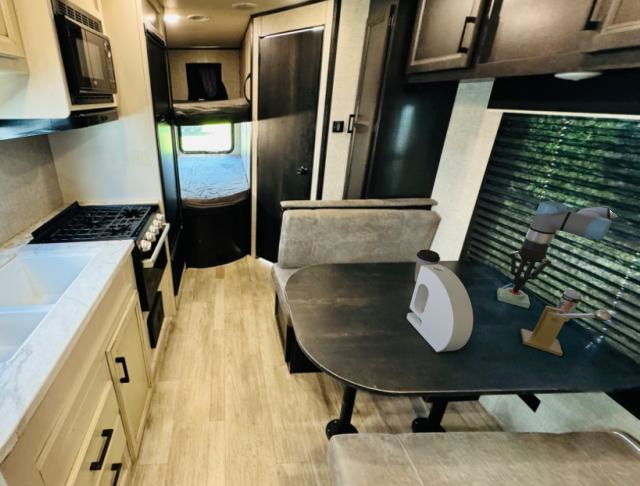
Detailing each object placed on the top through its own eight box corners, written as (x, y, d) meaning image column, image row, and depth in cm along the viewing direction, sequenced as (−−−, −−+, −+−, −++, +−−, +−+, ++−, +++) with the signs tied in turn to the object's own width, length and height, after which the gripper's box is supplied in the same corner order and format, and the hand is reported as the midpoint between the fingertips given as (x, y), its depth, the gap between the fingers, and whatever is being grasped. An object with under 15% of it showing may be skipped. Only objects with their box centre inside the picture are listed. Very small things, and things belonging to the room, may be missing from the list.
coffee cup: (431, 278, 149) (440, 250, 143) (433, 288, 141) (442, 260, 135) (409, 274, 153) (417, 247, 147) (410, 284, 145) (418, 255, 139)
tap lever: (610, 317, 99) (608, 307, 99) (613, 323, 97) (611, 313, 96) (548, 317, 108) (546, 308, 108) (550, 323, 106) (548, 313, 105)
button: (518, 294, 133) (520, 290, 133) (519, 298, 131) (521, 294, 130) (508, 291, 135) (509, 287, 135) (508, 295, 133) (510, 291, 132)
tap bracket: (556, 341, 111) (573, 310, 105) (561, 356, 105) (579, 323, 99) (520, 330, 116) (534, 300, 111) (522, 343, 110) (538, 312, 105)
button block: (525, 298, 135) (529, 291, 133) (528, 308, 129) (531, 300, 127) (496, 291, 140) (499, 283, 138) (497, 300, 134) (501, 292, 132)
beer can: (548, 314, 125) (561, 289, 120) (561, 314, 125) (574, 289, 120) (558, 322, 121) (572, 296, 116) (571, 322, 120) (586, 297, 115)
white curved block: (422, 317, 124) (438, 261, 113) (462, 357, 105) (485, 295, 94) (406, 318, 123) (420, 263, 113) (443, 359, 104) (464, 296, 94)
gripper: (558, 241, 122) (534, 291, 132) (515, 233, 129) (495, 281, 138) (562, 248, 116) (536, 300, 126) (517, 239, 123) (496, 289, 133)
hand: (515, 290), depth 132 cm, fingers closed
